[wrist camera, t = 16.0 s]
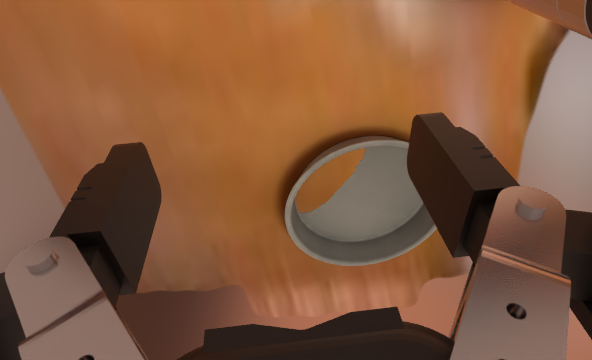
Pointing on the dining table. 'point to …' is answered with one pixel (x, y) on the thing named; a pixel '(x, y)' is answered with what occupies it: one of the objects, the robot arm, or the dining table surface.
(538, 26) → the dining table surface
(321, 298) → the dining table surface
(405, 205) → the cake pan
